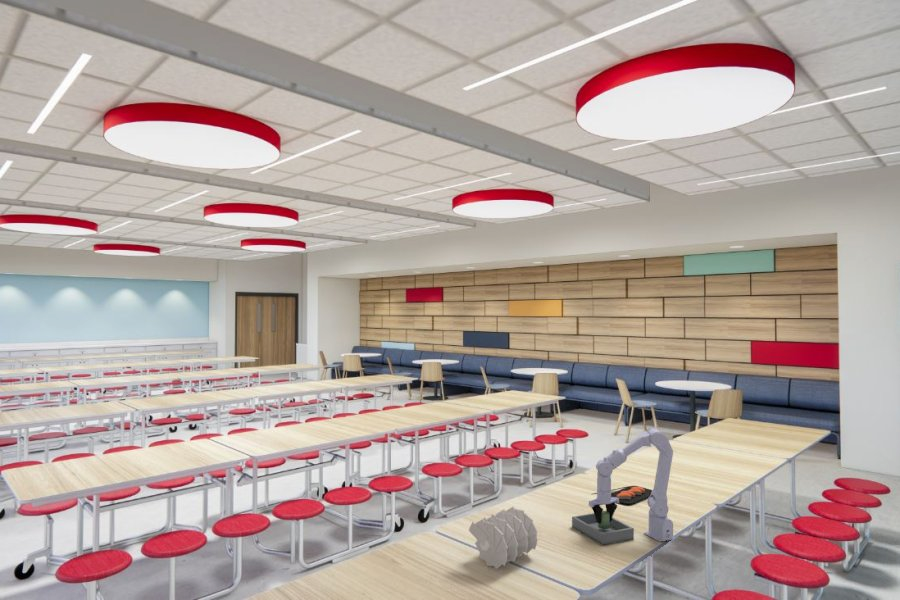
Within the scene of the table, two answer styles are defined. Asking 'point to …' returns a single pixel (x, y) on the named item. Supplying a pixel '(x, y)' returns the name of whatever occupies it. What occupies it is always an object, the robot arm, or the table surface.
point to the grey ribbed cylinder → (504, 536)
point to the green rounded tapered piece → (605, 520)
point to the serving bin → (602, 536)
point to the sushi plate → (631, 494)
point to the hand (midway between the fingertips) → (603, 521)
